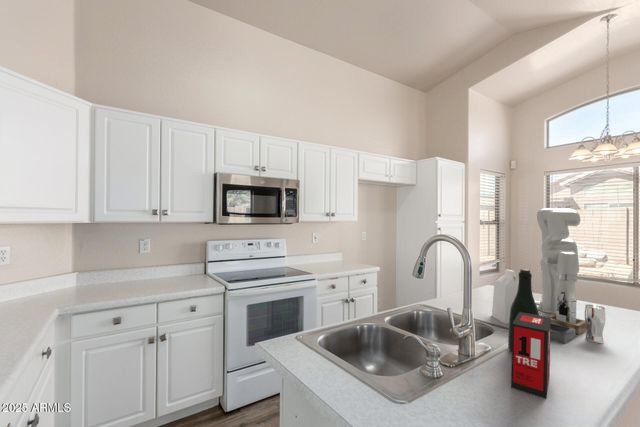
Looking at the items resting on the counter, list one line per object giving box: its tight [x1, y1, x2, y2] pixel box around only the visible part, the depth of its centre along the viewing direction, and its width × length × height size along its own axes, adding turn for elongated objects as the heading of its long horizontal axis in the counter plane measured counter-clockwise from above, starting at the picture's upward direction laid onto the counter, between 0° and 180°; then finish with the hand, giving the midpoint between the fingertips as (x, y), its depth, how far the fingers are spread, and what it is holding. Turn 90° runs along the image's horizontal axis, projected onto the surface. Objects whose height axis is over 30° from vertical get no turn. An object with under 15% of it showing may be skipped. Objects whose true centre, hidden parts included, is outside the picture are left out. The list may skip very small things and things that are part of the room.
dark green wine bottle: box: [507, 268, 540, 353], centre depth 121 cm, size 10×10×33 cm
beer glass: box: [584, 303, 607, 344], centre depth 136 cm, size 7×7×15 cm
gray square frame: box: [550, 323, 576, 345], centre depth 140 cm, size 13×13×4 cm
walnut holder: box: [547, 314, 587, 337], centre depth 150 cm, size 13×13×4 cm
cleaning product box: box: [510, 312, 551, 400], centre depth 99 cm, size 16×9×20 cm, turn 141°
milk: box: [491, 269, 519, 325], centre depth 161 cm, size 12×12×26 cm
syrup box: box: [556, 298, 577, 324], centre depth 150 cm, size 6×6×14 cm
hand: (566, 313), depth 150 cm, fingers closed on syrup box, 7 cm apart
